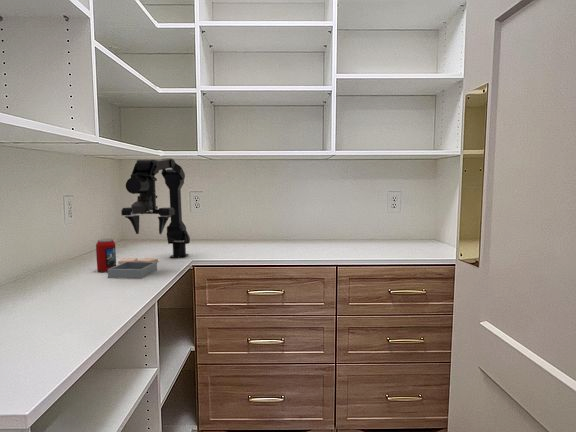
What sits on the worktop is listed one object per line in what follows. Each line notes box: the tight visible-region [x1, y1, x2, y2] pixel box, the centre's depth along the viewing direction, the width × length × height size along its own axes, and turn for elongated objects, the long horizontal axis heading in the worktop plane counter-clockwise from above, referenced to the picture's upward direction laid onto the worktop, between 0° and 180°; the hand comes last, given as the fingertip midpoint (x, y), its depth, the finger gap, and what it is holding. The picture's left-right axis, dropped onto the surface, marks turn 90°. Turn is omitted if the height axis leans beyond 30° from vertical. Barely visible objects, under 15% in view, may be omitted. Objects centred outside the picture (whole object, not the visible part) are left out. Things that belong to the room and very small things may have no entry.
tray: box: [107, 261, 158, 280], centre depth 139 cm, size 13×13×3 cm
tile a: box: [117, 257, 139, 265], centre depth 158 cm, size 6×6×1 cm
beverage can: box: [95, 238, 117, 273], centre depth 143 cm, size 7×7×12 cm
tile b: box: [137, 257, 159, 263], centre depth 158 cm, size 6×6×1 cm
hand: (148, 234), depth 141 cm, fingers open, 9 cm apart
